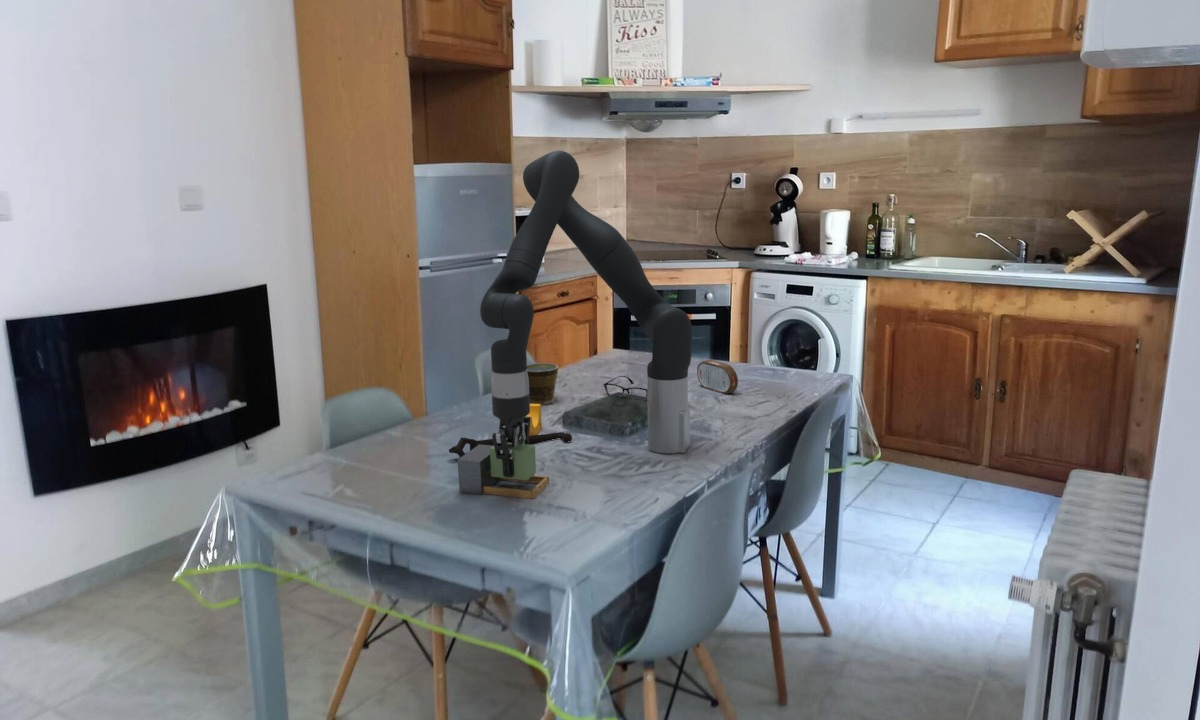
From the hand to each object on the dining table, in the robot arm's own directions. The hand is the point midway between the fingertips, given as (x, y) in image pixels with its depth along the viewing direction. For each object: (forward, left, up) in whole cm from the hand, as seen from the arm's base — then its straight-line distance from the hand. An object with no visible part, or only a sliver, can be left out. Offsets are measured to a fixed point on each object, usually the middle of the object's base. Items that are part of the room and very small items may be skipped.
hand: (513, 471), depth 181 cm
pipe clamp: (+11, -34, -4) cm, 36 cm away
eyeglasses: (-4, -79, -4) cm, 79 cm away
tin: (-25, -86, -4) cm, 90 cm away
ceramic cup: (+21, -62, -4) cm, 65 cm away
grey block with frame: (+2, 0, -4) cm, 4 cm away
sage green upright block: (0, 0, -1) cm, 1 cm away
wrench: (+10, -22, -4) cm, 24 cm away
